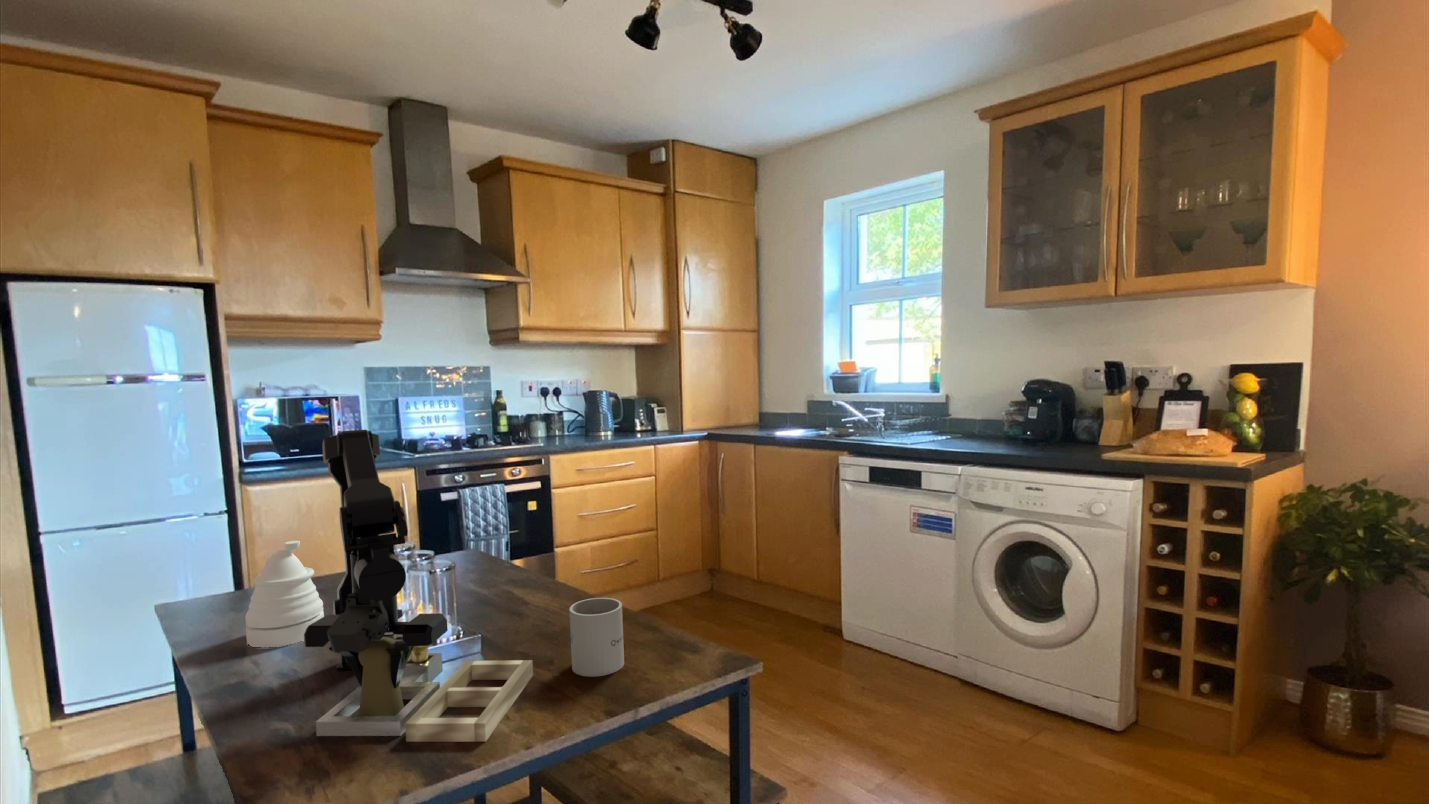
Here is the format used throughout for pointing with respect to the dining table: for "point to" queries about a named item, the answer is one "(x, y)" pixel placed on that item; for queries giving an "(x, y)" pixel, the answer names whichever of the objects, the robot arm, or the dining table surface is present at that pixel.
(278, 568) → the honey pot
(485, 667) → the rack
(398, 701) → the cork
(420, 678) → the socket block
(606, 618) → the mug
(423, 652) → the release key
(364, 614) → the robot arm
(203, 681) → the dining table surface
